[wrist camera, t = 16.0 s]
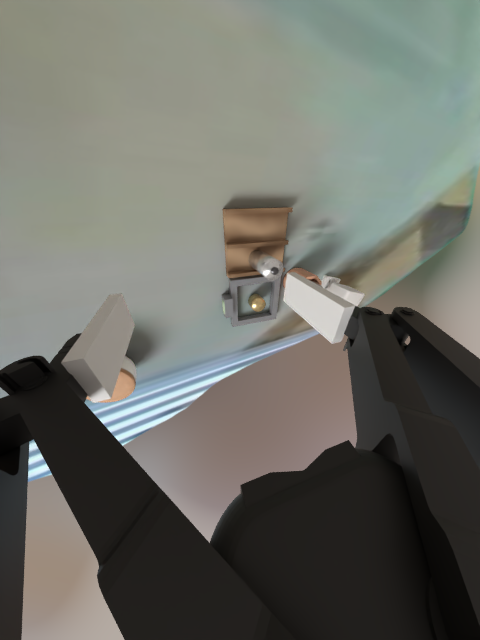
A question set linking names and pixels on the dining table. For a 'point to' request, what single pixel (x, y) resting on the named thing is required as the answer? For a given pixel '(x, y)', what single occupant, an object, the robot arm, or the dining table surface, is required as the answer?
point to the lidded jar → (124, 381)
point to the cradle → (232, 304)
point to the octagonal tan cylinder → (304, 274)
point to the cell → (266, 264)
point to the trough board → (253, 237)
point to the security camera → (342, 290)
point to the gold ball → (256, 302)
